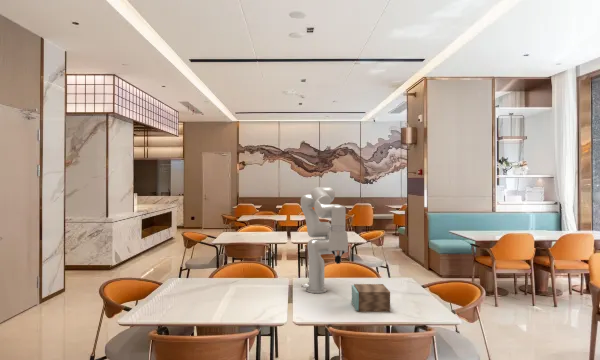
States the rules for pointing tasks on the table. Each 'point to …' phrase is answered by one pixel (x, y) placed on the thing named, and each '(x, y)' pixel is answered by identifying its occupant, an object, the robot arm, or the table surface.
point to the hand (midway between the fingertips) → (337, 263)
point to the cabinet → (373, 298)
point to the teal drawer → (355, 298)
